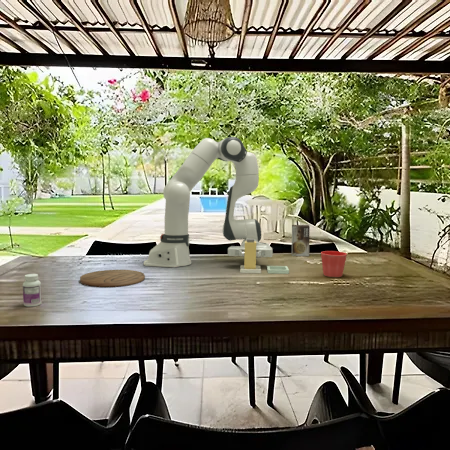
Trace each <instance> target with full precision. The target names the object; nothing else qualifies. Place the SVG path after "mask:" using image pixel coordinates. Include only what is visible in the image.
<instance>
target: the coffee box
mask: <svg viewBox="0 0 450 450" xmlns="http://www.w3.org/2000/svg"><path fill="white" fill-rule="evenodd" d="M310 231H311V229H310V225H309V224H292V225H291V256H292V257H310Z"/></svg>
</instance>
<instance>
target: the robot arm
mask: <svg viewBox="0 0 450 450" xmlns="http://www.w3.org/2000/svg"><path fill="white" fill-rule="evenodd" d="M216 160H220V161H223V162H231V163H233V165H234V168H235V181H234V183H233V185H232V186H230V188H229V190H228V194H227V202H226V209H225V218H224V222H223V225H222V235H223V237H224V238H225V239H226V240H227V241H230V242H231V241H237V240H242V241H241V243H240V246H239V245H238V246H237V245H236V246H235V245H231V246H229V247H228V248H227V256H229V257H243V258H244V257H245V241H247V239H254V241H256V259H260V258H272V257H273V253H274V252H273V247H271V246H270V245H269V243H267V242H261V240H262V228H261V224H260V221H258V220H257V219H256V218H248V219H247V218H245V219H235V218H234V213H235V207H236V203H237V201H238V200H239V199H241V198H242V197H245V196H247V195H250V194H252V193H253V192H254V191H255V190H257V188H258V186H259V179H260V177H259V176H260V174H259V173H260V172H259V166H258V165H259V163H258V160H257V157H256V154H254V153H253V152H251V151H247V149H246V147H245V145H244V143H243V142H242V140H241V139H240V138H238V137H237V136H229V137H226V138H223V139H221V140H220V141H216V140H215V139H213V138H210V137H205V138H203V139H201V141H200V142H199V143H198V144H197V145H196V146H195V147H194V148H193V149H192V150H191V152H190V153H189V154H188V156H187V157H186V159H185V160H184V162H183V163H182V164H181V165H180V167H179V168H178V169H177V170H176V172H175V173H174V175H172V177H171V178H170V179H169V181H168V182H167V184H166V185H165V186H164V187H163V192H162V193H163V198H164V200H165V205H164V207H165V208H164V209H165V210H164V233H162V234H161V235H160V238H159V241H160V242H159V243H157V244H156V245H155V246H153V248H151V249H150V250H149V253H148V258H147V259H145V260H144V261H143V266H146V267H160V268H178V267H185V266H189V265H192V259H191V255H190V249H189V246H190V234H189V214H190V213H189V211H190V200H191V199H190V198H191V191H192V190H193V189H194V187H195V186H197V184H198V183H199V182H200V181H201V180H202V179H203V177H204V176H205V174H206V173H207V172H208V170H209V169H210V167H211V166H212V165H213V163H214V162H215V161H216Z"/></svg>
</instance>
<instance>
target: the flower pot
mask: <svg viewBox="0 0 450 450" xmlns="http://www.w3.org/2000/svg"><path fill="white" fill-rule="evenodd" d="M347 255H348V253H346V252H343V251H336V250H325V251H321V252H320V258H321V265H322V273H323V275H324V277H325V276H326V277H328V278H341V277H343V274H344V270H345V266H346V265H345V264H346V262H347V261H346V260H347Z"/></svg>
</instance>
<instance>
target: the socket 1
mask: <svg viewBox="0 0 450 450" xmlns="http://www.w3.org/2000/svg"><path fill="white" fill-rule="evenodd" d="M239 274H262V269H261V265H256V269H244V265H242V264H241V265H240V269H239Z"/></svg>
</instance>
